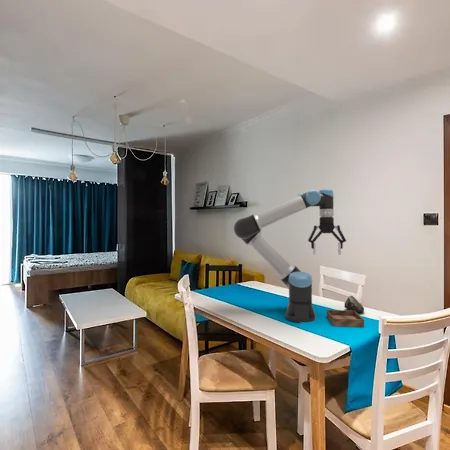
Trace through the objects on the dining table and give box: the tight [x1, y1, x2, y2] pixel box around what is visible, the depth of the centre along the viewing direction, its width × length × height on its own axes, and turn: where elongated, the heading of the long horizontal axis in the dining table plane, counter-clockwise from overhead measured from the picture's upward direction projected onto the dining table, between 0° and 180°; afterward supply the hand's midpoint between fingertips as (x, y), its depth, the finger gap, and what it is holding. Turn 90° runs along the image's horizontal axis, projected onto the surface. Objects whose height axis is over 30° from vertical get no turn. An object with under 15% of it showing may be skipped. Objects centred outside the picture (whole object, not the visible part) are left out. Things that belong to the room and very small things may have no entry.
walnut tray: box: [326, 309, 365, 328], centre depth 148 cm, size 14×15×4 cm
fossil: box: [343, 295, 365, 313], centre depth 165 cm, size 11×9×10 cm
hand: (326, 254), depth 166 cm, fingers open, 13 cm apart
